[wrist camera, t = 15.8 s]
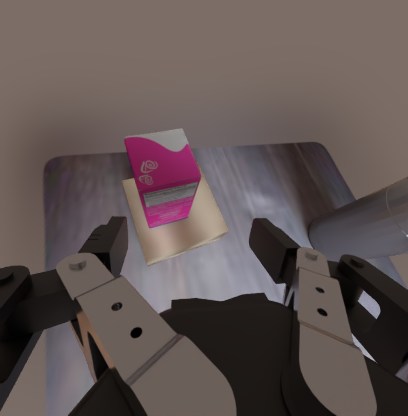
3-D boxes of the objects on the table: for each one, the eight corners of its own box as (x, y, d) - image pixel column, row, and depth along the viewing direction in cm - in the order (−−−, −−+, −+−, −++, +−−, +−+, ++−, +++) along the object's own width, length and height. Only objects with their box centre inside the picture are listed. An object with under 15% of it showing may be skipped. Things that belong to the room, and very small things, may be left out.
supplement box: (137, 192, 27) (121, 133, 17) (177, 184, 29) (185, 125, 19) (147, 230, 25) (137, 190, 15) (189, 218, 27) (206, 175, 17)
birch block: (193, 182, 37) (198, 163, 31) (217, 240, 33) (228, 230, 28) (128, 198, 33) (121, 180, 27) (148, 266, 29) (145, 261, 24)
